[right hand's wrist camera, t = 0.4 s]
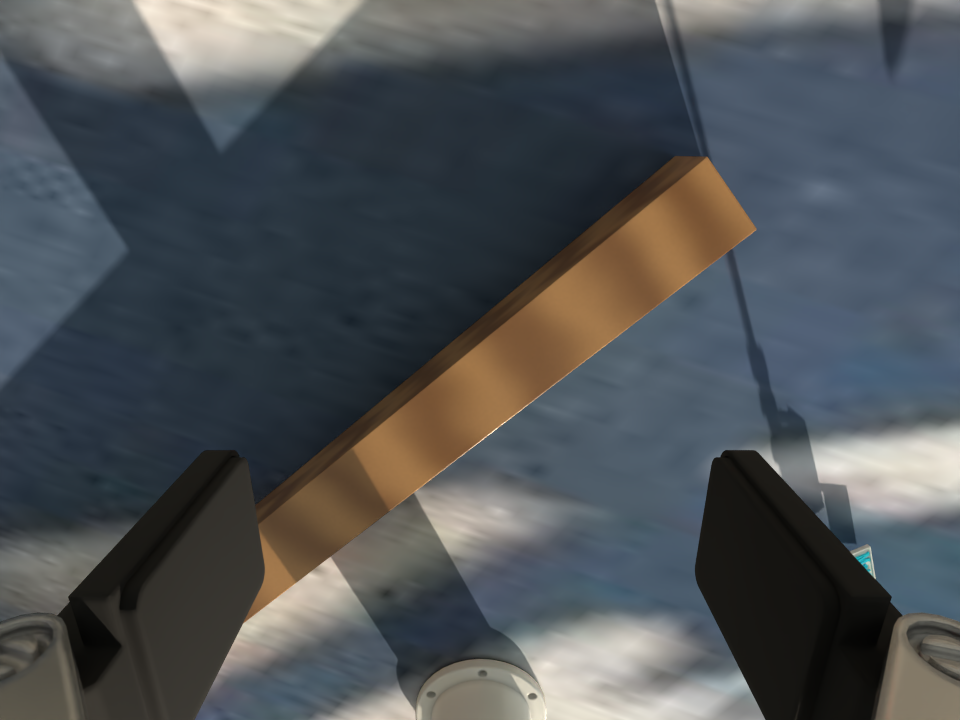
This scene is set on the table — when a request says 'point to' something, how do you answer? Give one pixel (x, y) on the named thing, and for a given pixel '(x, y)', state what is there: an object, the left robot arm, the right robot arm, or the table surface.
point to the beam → (501, 364)
